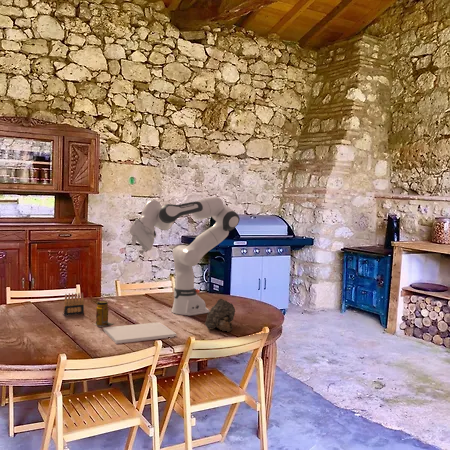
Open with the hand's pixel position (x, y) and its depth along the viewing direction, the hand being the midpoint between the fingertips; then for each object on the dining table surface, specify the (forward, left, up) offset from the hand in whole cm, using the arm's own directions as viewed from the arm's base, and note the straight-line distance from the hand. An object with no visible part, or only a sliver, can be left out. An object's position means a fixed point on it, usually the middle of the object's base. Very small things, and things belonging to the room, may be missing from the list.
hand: (137, 249), depth 252 cm
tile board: (+3, +18, -39) cm, 43 cm away
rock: (-39, +25, -40) cm, 61 cm away
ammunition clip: (+25, -29, -40) cm, 56 cm away
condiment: (+15, -4, -40) cm, 43 cm away
